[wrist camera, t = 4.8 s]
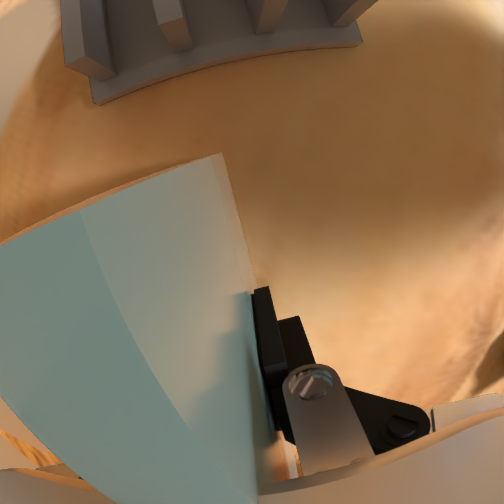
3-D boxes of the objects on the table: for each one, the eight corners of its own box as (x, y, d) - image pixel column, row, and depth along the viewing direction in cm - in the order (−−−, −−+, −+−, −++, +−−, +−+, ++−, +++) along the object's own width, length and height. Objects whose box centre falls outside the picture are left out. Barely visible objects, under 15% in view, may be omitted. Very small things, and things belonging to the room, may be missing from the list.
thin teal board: (222, 152, 13) (80, 210, 1) (275, 352, 17) (314, 561, 5) (189, 161, 13) (-65, 283, 1) (249, 358, 17) (268, 568, 5)
